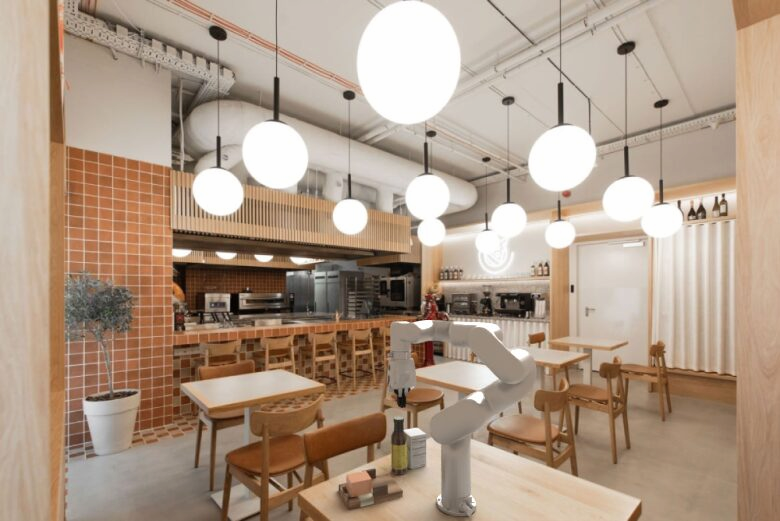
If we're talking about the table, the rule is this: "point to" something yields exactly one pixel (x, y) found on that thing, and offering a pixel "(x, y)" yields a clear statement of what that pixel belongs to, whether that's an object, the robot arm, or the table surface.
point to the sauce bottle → (399, 447)
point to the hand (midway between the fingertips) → (401, 406)
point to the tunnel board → (374, 491)
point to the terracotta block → (358, 483)
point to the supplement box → (416, 448)
